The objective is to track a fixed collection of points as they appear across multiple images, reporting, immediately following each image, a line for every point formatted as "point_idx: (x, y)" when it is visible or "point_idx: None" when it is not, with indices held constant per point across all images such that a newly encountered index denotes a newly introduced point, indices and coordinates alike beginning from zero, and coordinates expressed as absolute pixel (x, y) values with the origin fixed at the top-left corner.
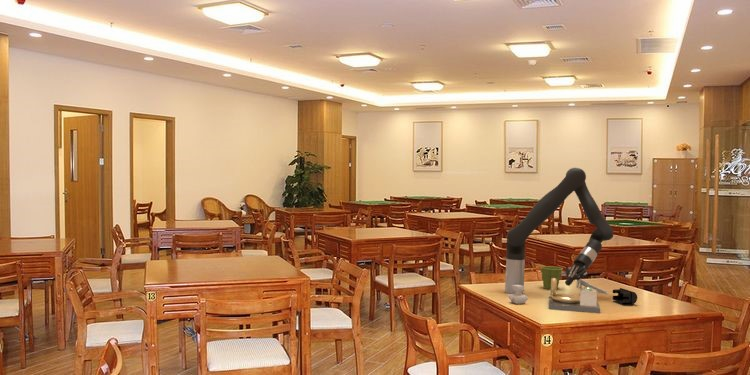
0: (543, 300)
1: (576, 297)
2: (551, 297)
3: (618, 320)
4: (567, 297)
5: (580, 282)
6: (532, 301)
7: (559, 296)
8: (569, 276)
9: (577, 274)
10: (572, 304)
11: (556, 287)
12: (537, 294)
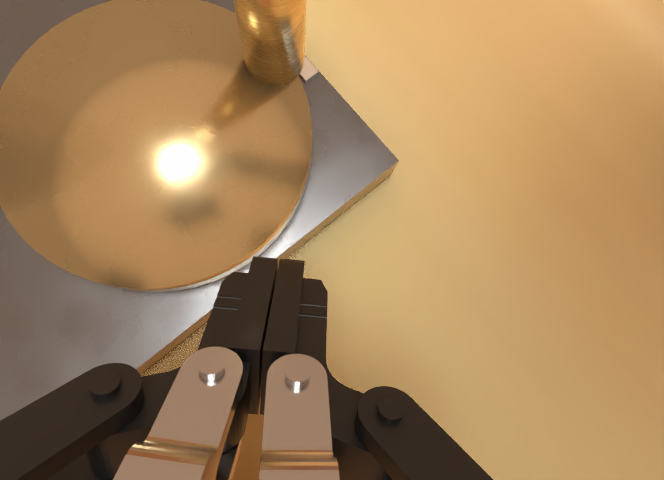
0: (418, 141)
1: (51, 180)
2: (350, 142)
3: None
4: (115, 93)
5: None
6: (429, 30)
7: (200, 64)
8: (279, 360)
9: (43, 443)
10: (16, 45)
11: (234, 2)
12: (654, 319)
